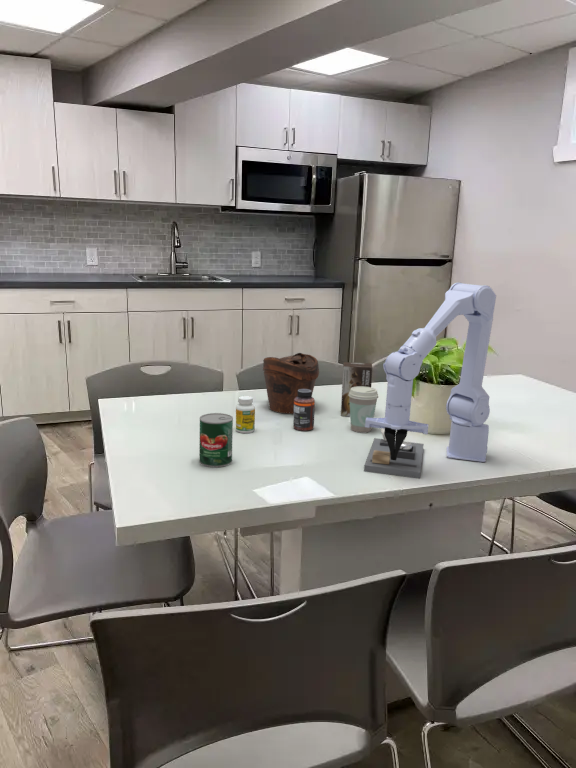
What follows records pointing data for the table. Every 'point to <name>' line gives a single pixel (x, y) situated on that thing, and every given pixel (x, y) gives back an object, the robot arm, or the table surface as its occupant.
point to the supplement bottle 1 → (245, 415)
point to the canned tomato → (216, 440)
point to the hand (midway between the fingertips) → (393, 458)
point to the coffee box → (354, 381)
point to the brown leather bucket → (288, 379)
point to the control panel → (402, 466)
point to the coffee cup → (362, 407)
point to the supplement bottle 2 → (304, 410)
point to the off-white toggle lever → (383, 433)
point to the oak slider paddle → (381, 457)
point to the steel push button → (406, 447)
